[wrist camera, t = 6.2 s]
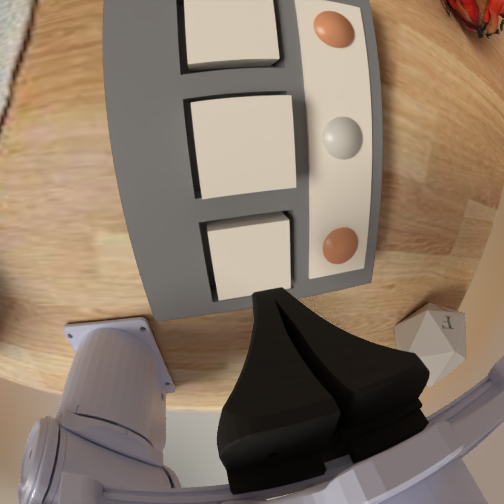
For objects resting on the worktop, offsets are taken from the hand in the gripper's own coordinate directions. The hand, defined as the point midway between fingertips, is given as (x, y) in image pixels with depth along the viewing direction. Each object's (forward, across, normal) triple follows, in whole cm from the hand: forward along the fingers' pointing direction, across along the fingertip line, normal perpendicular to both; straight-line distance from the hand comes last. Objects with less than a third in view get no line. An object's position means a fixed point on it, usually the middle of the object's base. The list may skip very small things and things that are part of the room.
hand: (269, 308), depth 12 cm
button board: (+8, -1, -7) cm, 10 cm away
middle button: (+5, 0, -7) cm, 8 cm away
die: (+8, -18, +13) cm, 24 cm away
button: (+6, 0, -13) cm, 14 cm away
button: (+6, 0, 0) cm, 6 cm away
